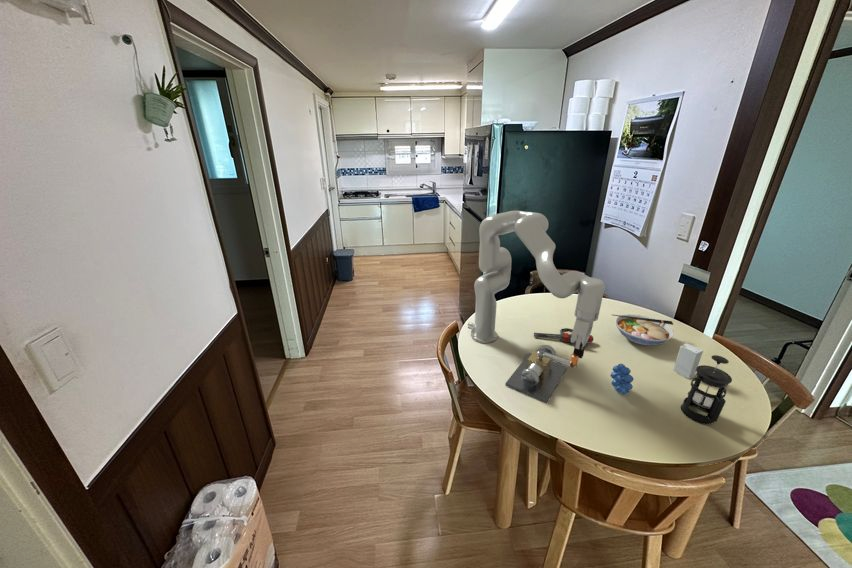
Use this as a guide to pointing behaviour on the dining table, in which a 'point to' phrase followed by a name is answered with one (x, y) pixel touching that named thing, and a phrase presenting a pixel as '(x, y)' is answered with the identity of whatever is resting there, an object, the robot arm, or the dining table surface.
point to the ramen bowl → (644, 329)
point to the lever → (570, 363)
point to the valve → (562, 336)
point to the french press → (704, 399)
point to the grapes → (621, 379)
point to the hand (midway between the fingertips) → (577, 355)
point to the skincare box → (687, 360)
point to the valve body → (537, 375)
